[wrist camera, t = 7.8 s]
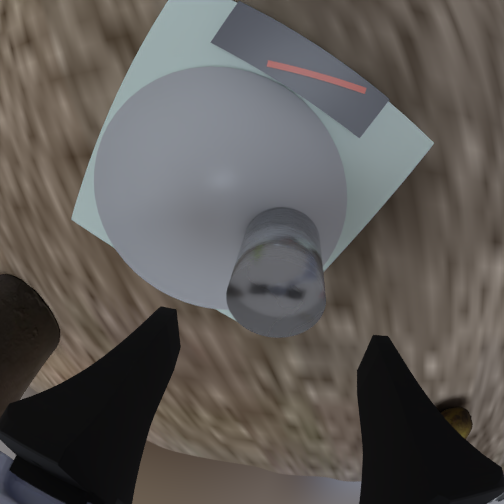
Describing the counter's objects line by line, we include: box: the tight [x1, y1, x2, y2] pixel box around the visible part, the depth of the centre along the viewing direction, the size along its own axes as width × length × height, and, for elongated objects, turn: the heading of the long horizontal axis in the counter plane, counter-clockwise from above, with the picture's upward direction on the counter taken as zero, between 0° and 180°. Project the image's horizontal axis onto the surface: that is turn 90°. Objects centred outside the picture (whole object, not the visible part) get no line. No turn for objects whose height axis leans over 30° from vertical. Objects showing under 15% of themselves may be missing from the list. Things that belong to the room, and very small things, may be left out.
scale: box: [72, 0, 434, 320], centre depth 17 cm, size 16×15×2 cm
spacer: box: [226, 207, 326, 337], centre depth 15 cm, size 4×4×5 cm
